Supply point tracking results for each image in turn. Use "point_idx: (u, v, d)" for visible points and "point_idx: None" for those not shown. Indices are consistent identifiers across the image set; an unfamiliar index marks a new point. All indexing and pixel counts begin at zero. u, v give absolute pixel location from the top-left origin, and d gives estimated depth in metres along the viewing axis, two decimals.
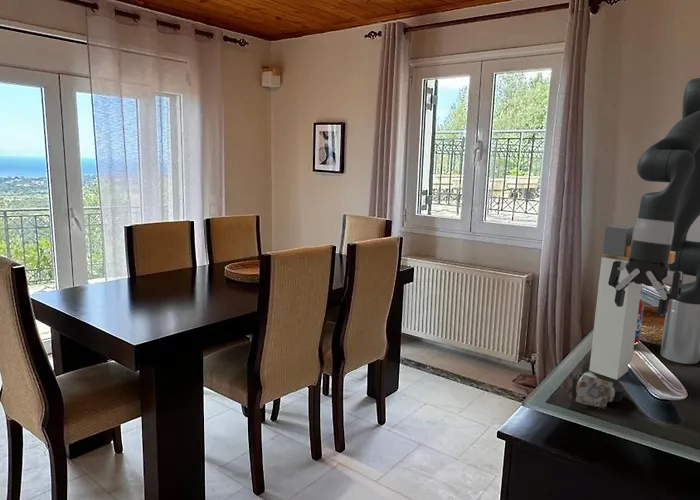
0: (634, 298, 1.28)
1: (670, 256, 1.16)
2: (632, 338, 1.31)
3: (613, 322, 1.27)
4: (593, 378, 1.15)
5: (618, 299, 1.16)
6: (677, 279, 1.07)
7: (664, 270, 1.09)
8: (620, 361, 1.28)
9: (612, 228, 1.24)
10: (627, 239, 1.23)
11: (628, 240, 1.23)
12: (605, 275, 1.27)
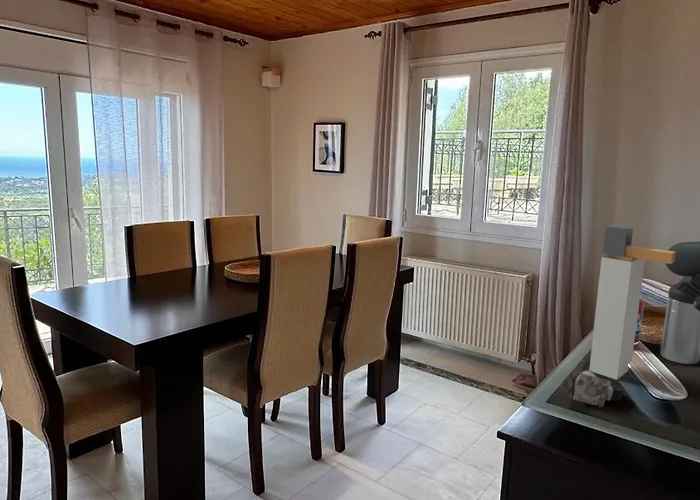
0: (634, 298, 1.28)
1: (670, 256, 1.16)
2: (632, 338, 1.31)
3: (613, 322, 1.27)
4: (591, 376, 1.15)
5: None
6: None
7: None
8: (620, 361, 1.28)
9: (612, 228, 1.24)
10: (627, 239, 1.23)
11: (628, 240, 1.23)
12: (605, 275, 1.27)
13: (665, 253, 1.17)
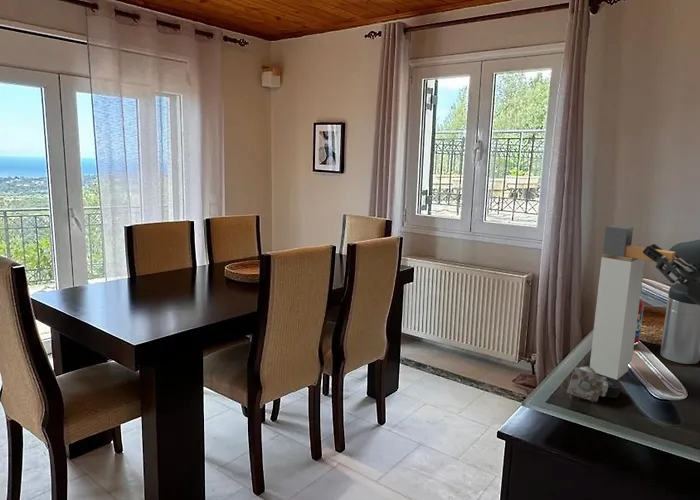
0: (634, 298, 1.28)
1: (670, 256, 1.16)
2: (632, 338, 1.31)
3: (613, 322, 1.27)
4: (585, 371, 1.18)
5: None
6: None
7: None
8: (620, 361, 1.28)
9: (612, 228, 1.24)
10: (627, 239, 1.23)
11: (628, 240, 1.23)
12: (605, 275, 1.27)
13: (665, 253, 1.17)
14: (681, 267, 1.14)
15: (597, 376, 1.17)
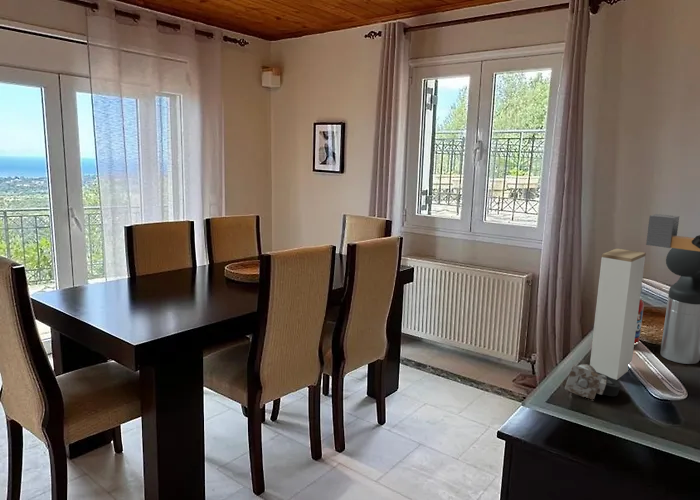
0: (634, 298, 1.28)
1: None
2: (632, 338, 1.31)
3: (613, 322, 1.27)
4: (583, 369, 1.19)
5: None
6: None
7: None
8: (620, 361, 1.28)
9: (657, 217, 1.16)
10: (673, 229, 1.15)
11: (674, 230, 1.16)
12: (605, 275, 1.27)
13: None
14: None
15: (594, 374, 1.18)
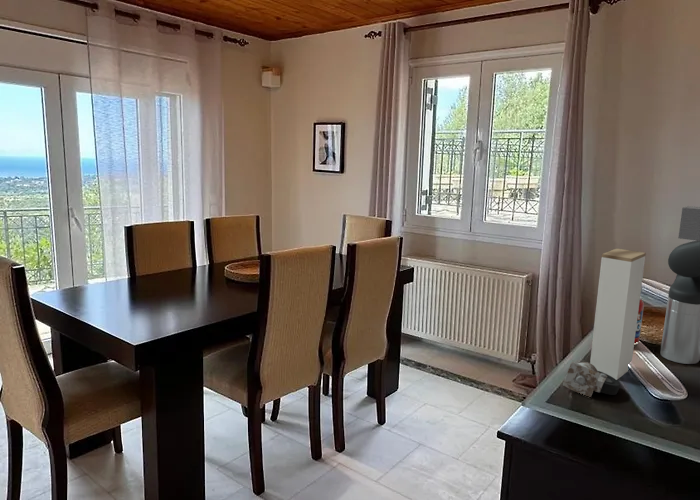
0: (634, 298, 1.28)
1: None
2: (632, 338, 1.31)
3: (613, 322, 1.27)
4: (581, 366, 1.21)
5: None
6: None
7: None
8: (620, 361, 1.28)
9: (690, 209, 1.11)
10: None
11: None
12: (605, 275, 1.27)
13: None
14: None
15: (592, 371, 1.19)
